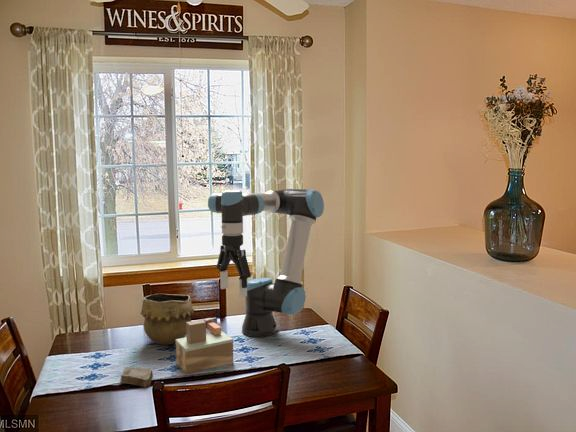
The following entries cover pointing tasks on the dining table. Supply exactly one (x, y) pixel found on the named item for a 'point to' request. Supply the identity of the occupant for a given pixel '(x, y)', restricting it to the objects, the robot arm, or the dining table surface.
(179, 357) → the toolbox
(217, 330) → the key bar
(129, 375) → the stone
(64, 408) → the dining table surface
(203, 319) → the staple
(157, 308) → the clay pot
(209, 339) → the lid
